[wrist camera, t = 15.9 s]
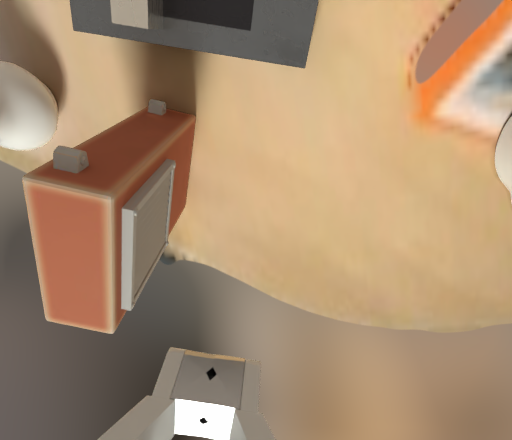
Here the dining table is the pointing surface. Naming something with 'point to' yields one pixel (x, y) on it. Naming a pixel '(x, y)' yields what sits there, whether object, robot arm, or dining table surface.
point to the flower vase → (25, 109)
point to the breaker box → (207, 25)
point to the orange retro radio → (108, 215)
